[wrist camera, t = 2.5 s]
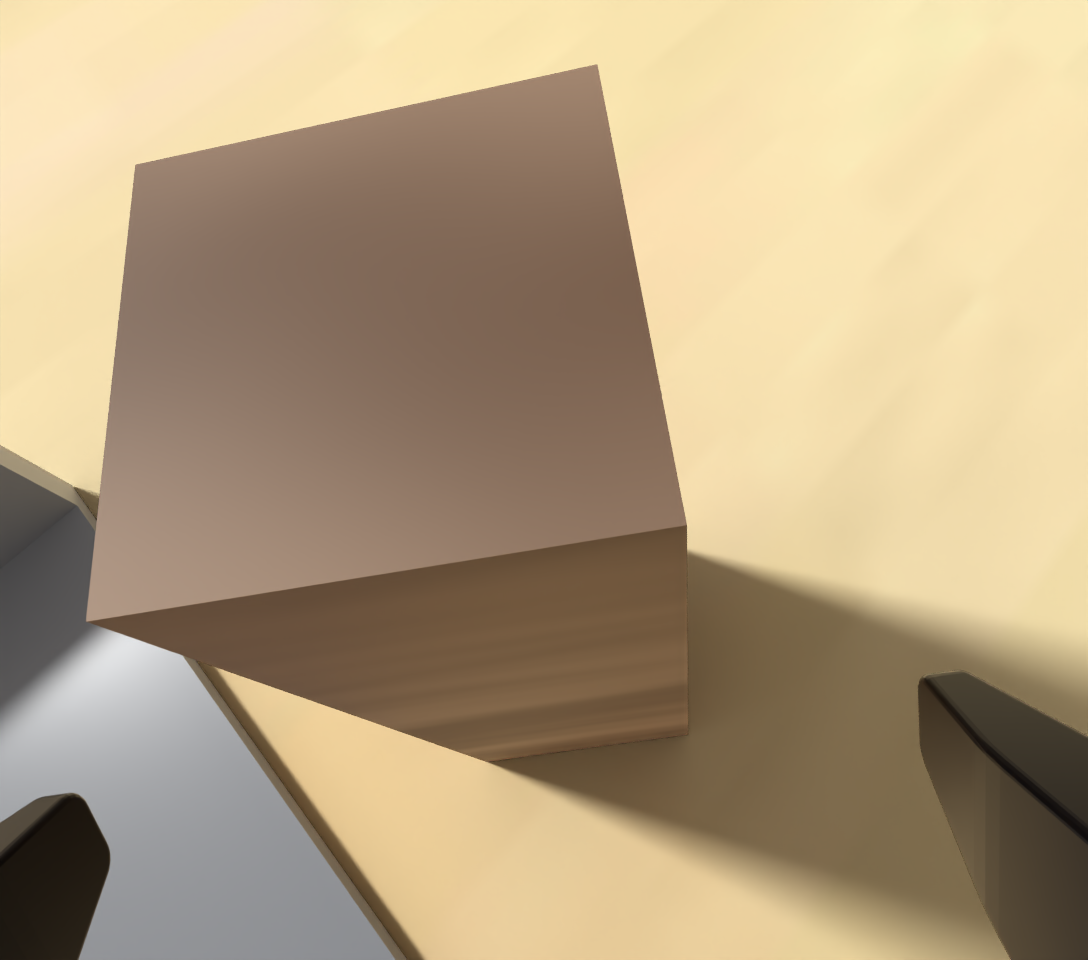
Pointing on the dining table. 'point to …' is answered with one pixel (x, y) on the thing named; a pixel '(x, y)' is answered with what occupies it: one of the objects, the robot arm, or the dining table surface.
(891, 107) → the dining table surface
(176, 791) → the tray
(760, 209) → the dining table surface
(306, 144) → the walnut column
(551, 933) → the dining table surface
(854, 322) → the dining table surface
